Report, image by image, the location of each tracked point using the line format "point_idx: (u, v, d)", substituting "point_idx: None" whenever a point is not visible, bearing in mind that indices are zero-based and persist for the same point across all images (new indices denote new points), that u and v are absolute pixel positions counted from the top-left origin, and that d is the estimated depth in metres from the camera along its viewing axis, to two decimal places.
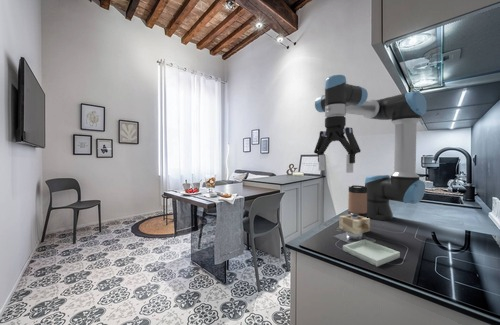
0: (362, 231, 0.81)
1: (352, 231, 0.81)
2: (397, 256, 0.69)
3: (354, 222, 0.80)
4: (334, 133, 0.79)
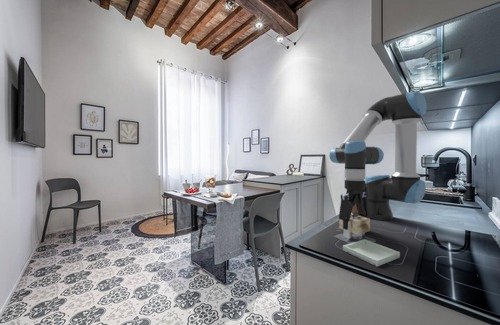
0: (362, 231, 0.81)
1: (352, 231, 0.81)
2: (397, 256, 0.69)
3: (354, 222, 0.80)
4: None
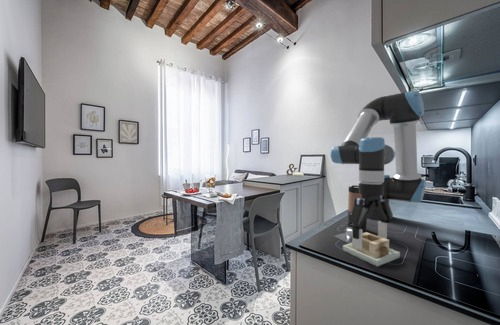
0: (380, 255, 0.69)
1: (369, 255, 0.69)
2: (397, 256, 0.69)
3: (371, 245, 0.68)
4: None
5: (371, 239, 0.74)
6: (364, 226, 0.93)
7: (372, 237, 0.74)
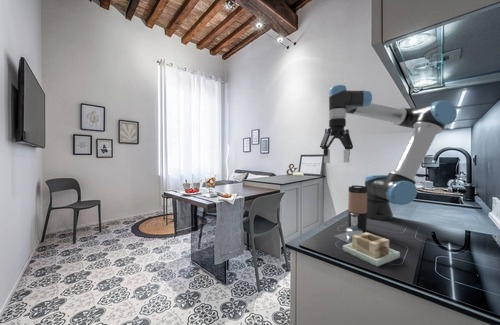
0: (380, 255, 0.69)
1: (369, 255, 0.69)
2: (397, 256, 0.69)
3: (371, 245, 0.68)
4: None
5: (371, 239, 0.74)
6: (364, 226, 0.93)
7: (372, 237, 0.74)
